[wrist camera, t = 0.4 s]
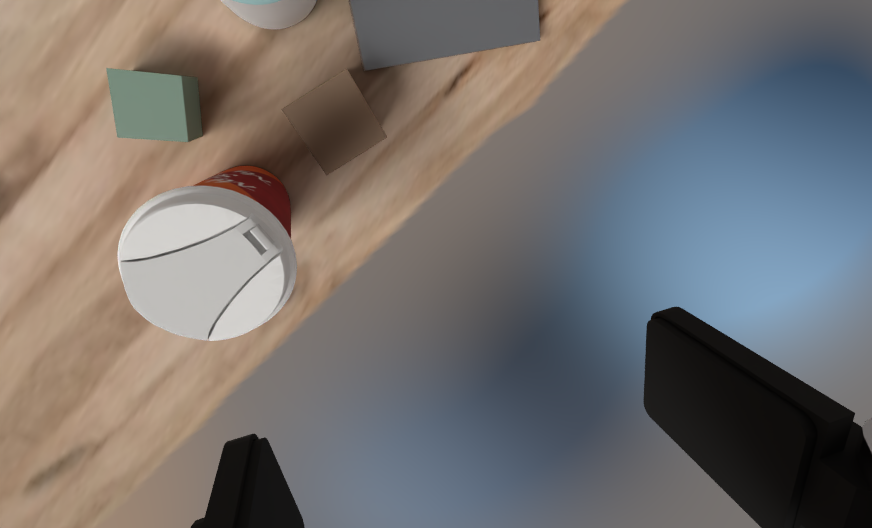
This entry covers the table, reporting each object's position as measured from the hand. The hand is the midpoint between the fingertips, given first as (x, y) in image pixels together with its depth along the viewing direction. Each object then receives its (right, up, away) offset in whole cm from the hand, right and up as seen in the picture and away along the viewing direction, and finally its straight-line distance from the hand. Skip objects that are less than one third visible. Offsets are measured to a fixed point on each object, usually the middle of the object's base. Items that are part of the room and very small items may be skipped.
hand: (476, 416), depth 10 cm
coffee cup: (-16, +8, +24) cm, 30 cm away
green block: (-20, +15, +20) cm, 32 cm away
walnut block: (-9, +15, +23) cm, 29 cm away
